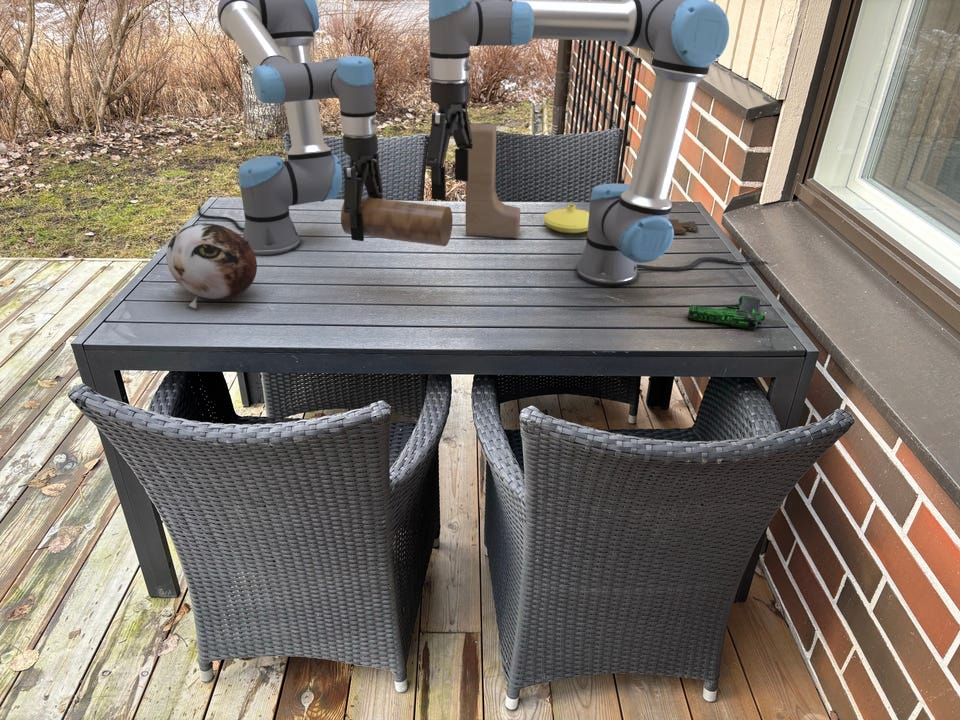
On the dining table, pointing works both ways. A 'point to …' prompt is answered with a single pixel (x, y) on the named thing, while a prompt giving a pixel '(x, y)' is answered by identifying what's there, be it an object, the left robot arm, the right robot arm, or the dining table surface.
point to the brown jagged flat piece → (682, 226)
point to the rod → (403, 221)
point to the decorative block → (486, 189)
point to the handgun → (731, 314)
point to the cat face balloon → (211, 261)
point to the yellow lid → (567, 220)
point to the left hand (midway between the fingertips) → (366, 232)
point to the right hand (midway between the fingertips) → (450, 189)
